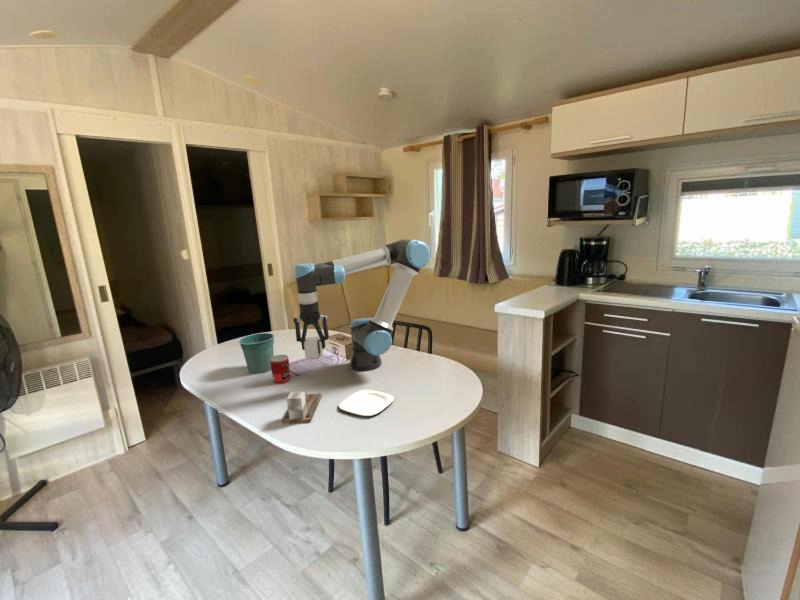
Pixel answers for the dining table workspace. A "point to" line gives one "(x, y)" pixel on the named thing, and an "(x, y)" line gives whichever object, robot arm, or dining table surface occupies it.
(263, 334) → the flower pot
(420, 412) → the dining table surface
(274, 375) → the canned food
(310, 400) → the rail board
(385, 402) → the plate
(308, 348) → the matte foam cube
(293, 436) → the dining table surface
